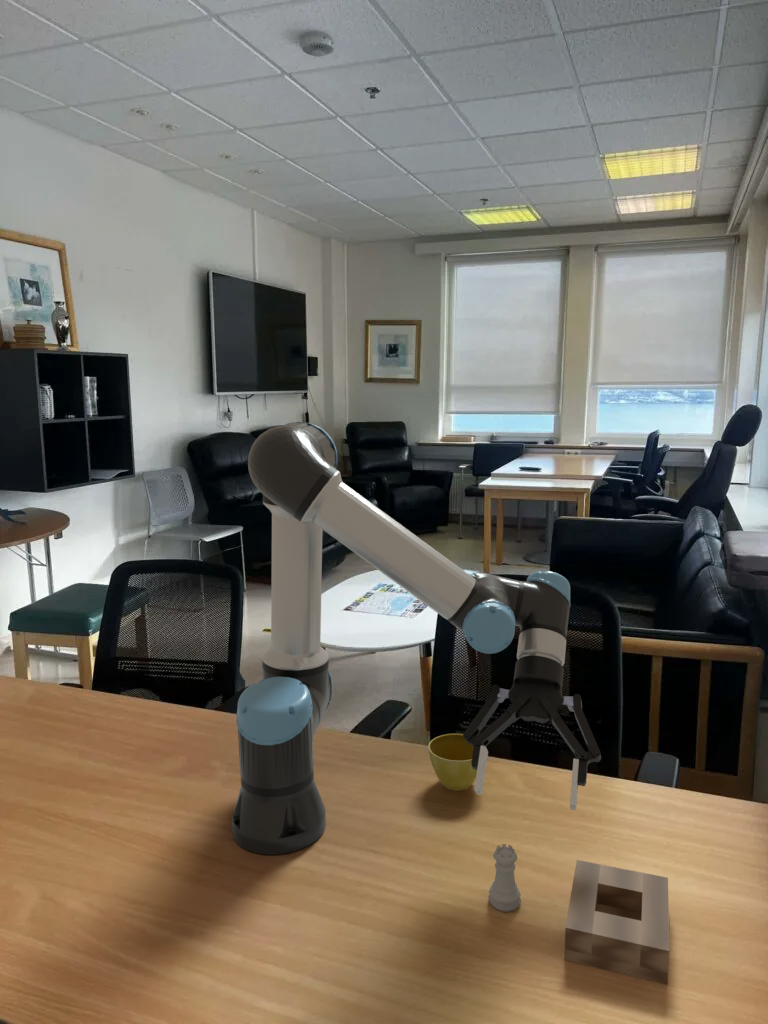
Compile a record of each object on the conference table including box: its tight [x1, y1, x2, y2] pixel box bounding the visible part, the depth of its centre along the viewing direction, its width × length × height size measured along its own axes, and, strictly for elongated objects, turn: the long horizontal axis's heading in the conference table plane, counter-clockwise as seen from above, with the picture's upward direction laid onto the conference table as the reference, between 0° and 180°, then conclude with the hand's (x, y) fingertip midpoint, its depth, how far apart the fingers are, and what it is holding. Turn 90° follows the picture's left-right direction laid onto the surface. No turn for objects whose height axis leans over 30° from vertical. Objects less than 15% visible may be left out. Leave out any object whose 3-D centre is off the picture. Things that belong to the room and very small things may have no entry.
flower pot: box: [427, 733, 477, 792], centre depth 133 cm, size 10×10×7 cm
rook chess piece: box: [488, 843, 522, 913], centre depth 103 cm, size 4×4×8 cm
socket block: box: [563, 859, 670, 985], centre depth 97 cm, size 12×14×4 cm
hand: (524, 800), depth 108 cm, fingers open, 13 cm apart
